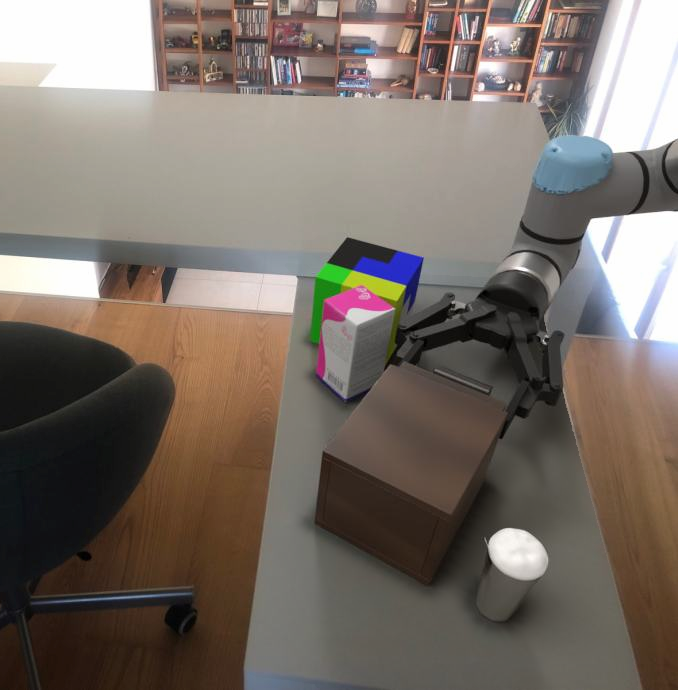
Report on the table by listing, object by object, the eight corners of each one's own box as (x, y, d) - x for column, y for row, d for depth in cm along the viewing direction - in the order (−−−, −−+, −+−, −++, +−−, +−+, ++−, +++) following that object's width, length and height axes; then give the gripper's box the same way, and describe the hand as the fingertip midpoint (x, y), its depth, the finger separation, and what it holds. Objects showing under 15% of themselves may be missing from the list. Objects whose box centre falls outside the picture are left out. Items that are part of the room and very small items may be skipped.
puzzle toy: (410, 321, 91) (423, 257, 85) (384, 366, 85) (396, 301, 78) (339, 299, 95) (347, 237, 89) (310, 341, 89) (315, 276, 82)
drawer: (409, 395, 80) (422, 335, 74) (501, 434, 75) (523, 374, 69) (336, 496, 69) (345, 436, 63) (438, 550, 64) (457, 490, 58)
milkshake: (452, 580, 63) (477, 514, 56) (512, 581, 63) (544, 515, 56) (464, 628, 59) (492, 564, 53) (528, 630, 59) (563, 565, 53)
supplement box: (383, 384, 82) (397, 308, 75) (344, 404, 80) (355, 327, 73) (351, 357, 86) (362, 282, 79) (313, 375, 84) (320, 299, 76)
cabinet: (376, 436, 76) (390, 363, 69) (481, 485, 71) (508, 412, 64) (313, 523, 68) (322, 450, 61) (427, 586, 62) (451, 515, 55)
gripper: (607, 356, 81) (552, 481, 67) (420, 290, 91) (340, 386, 78) (631, 305, 76) (577, 428, 62) (430, 241, 86) (346, 335, 73)
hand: (445, 405), depth 70 cm, fingers closed on drawer, 11 cm apart
